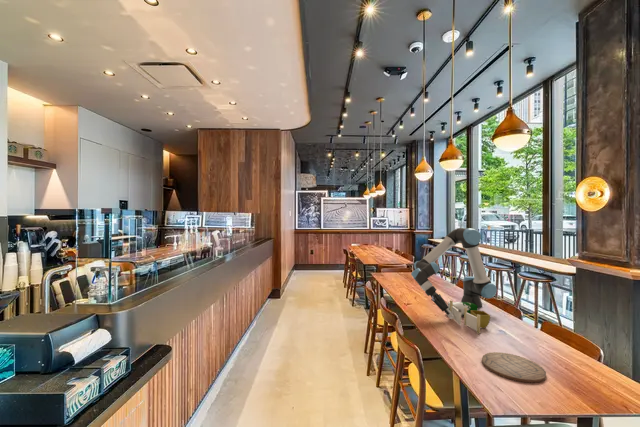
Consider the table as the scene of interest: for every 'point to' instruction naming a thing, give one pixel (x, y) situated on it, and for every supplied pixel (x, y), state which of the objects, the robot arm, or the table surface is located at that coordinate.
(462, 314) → the milk carton
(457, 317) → the gate
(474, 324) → the fence
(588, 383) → the table surface
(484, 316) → the flower pot
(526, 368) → the trivet
